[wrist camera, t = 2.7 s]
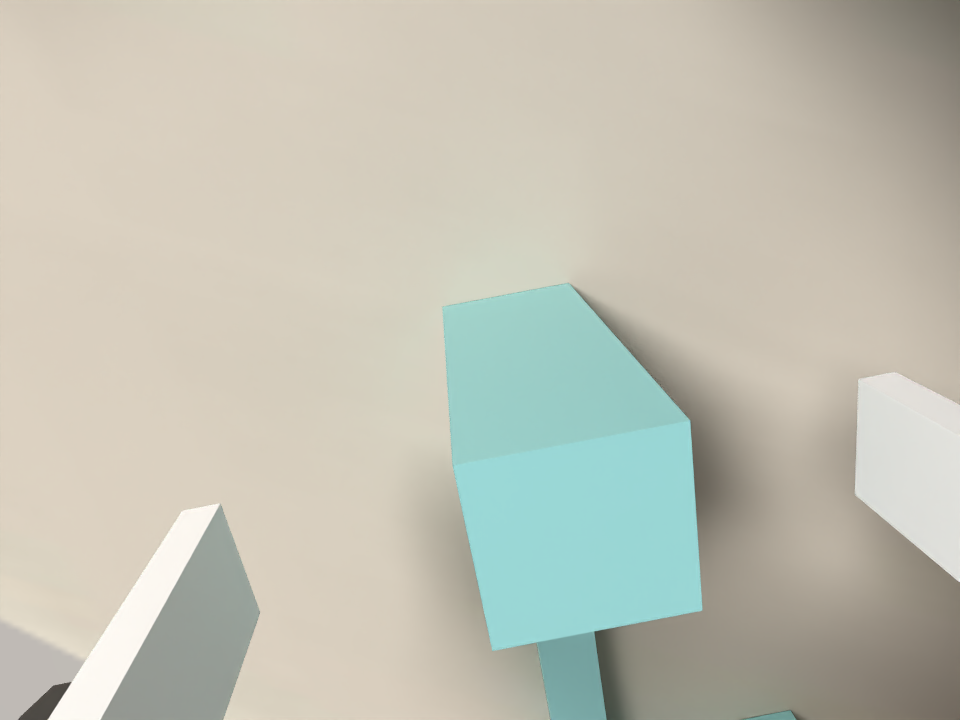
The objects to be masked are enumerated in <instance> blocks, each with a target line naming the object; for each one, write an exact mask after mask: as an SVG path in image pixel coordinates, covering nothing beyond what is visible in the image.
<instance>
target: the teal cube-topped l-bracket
mask: <svg viewBox="0 0 960 720" xmlns="http://www.w3.org/2000/svg"><path fill="white" fill-rule="evenodd" d="M443 323H444V338H445V354H446V369H447V385H448V400H449V416H450V432H451V447H452V463H453V469H454V474H455V479H456V483H457V488H458V493H459V497H460V502H461V507H462V511H463V516H464V521H465V525H466V530H467V535H468V539H469V544H470V549H471V553H472V558H473V563H474V567H475V572H476V576H477V581H478V586H479V590H480V595H481V600H482V604H483V609H484V614H485V618H486V623H487V628H488V632H489V637H490V642H491V646H492V651H495V650H500V649H505V648H510V647H515V646H521V645H526V644H531V643H537V648H538V654H539V659H540V664H541V670H542V675H543V681H544V686H545V692H546V697H547V703H548V708H549V714H550V719H551V720H606V712H605V705H604V698H603V691H602V684H601V677H600V670H599V663H598V656H597V649H596V642H595V634H594V631H599V630H604V629H609V628H614V627H620V626H625V625H630V624H635V623H640V622H646V621H651V620H656V619H661V618H666V617H672V616H677V615H682V614H687V613H692V612H698V611H702V596H701V581H700V565H699V549H698V534H697V518H696V503H695V487H694V472H693V456H692V441H691V425H690V420H689V419H688V418H687V416H686V415H685V414H684V413H683V412H682V411H681V410H680V408H679V407H678V406H677V405H676V404H675V403H674V402H673V401H672V399H671V398H670V397H669V396H668V395H667V394H666V393H665V391H664V390H663V389H662V388H661V387H660V386H659V385H658V384H657V382H656V381H655V380H654V379H653V378H652V377H651V376H650V375H649V373H648V372H647V371H646V370H645V369H644V368H643V367H642V365H641V364H640V363H639V362H638V361H637V360H636V359H635V358H634V356H633V355H632V354H631V353H630V352H629V351H628V350H627V348H626V347H625V346H624V345H623V344H622V343H621V342H620V341H619V339H618V338H617V337H616V336H615V335H614V334H613V333H612V332H611V330H610V329H609V328H608V327H607V326H606V325H605V324H604V322H603V321H602V320H601V319H600V318H599V317H598V316H597V315H596V313H595V312H594V311H593V310H592V309H591V308H590V307H589V305H588V304H587V303H586V302H585V301H584V300H583V299H582V298H581V296H580V295H579V294H578V293H577V292H576V291H575V290H574V289H573V287H572V286H571V285H570V284H569V283H566V284H561V285H555V286H550V287H545V288H540V289H534V290H529V291H524V292H518V293H513V294H508V295H502V296H497V297H492V298H486V299H481V300H476V301H470V302H465V303H460V304H454V305H449V306H444V307H443ZM743 720H796V719H795V717H794V715H793V714H792V712H791V710H789V711H784V712H779V713H774V714H769V715H763V716H758V717H753V718H748V719H743Z"/></svg>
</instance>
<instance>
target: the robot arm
mask: <svg viewBox="0 0 960 720" xmlns="http://www.w3.org/2000/svg"><path fill="white" fill-rule="evenodd" d="M855 495H856V496H857V497H858V498H859V499H861V500H862V501H863V502H864V503H865V504H867V505H868V506H869V507H870V508H871V509H873V510H874V511H875V512H876V513H877V514H879V515H880V516H881V517H882V518H883V519H884V520H886V521H887V522H888V523H889V524H890V525H892V526H893V527H894V528H895V529H896V530H898V531H899V532H900V533H901V534H902V535H904V536H905V537H906V538H907V539H908V540H910V541H911V542H912V543H913V544H914V545H915V546H917V547H918V548H919V549H920V550H921V551H923V552H924V553H925V554H926V555H927V556H929V557H930V558H931V559H932V560H933V561H935V562H936V563H937V564H938V565H939V566H941V567H942V568H943V569H944V570H945V571H946V572H948V573H949V574H950V575H951V576H952V577H954V578H955V579H956V580H957V581H958V582H960V404H958V403H956V402H954V401H952V400H950V399H948V398H946V397H944V396H942V395H940V394H938V393H936V392H934V391H932V390H930V389H928V388H926V387H924V386H922V385H920V384H918V383H916V382H914V381H912V380H910V379H908V378H906V377H904V376H902V375H900V374H898V373H896V372H892V373H887V374H882V375H876V376H871V377H866V378H861V379H858V411H857V442H856V474H855ZM259 614H260V611H259V608H258V605H257V602H256V600H255V597H254V594H253V591H252V589H251V586H250V583H249V581H248V578H247V575H246V572H245V570H244V567H243V564H242V561H241V559H240V556H239V553H238V550H237V548H236V545H235V542H234V539H233V537H232V534H231V531H230V528H229V526H228V523H227V520H226V517H225V515H224V512H223V509H222V506H221V504H214V505H209V506H204V507H199V508H194V509H189V510H184V511H182V512H181V514H180V515H179V517H178V518H177V520H176V522H175V523H174V525H173V526H172V528H171V529H170V531H169V532H168V534H167V535H166V537H165V539H164V540H163V542H162V543H161V545H160V546H159V548H158V549H157V551H156V553H155V554H154V556H153V557H152V559H151V560H150V562H149V563H148V565H147V567H146V568H145V570H144V571H143V573H142V574H141V576H140V577H139V579H138V580H137V582H136V584H135V585H134V587H133V588H132V590H131V591H130V593H129V594H128V596H127V598H126V599H125V601H124V602H123V604H122V605H121V607H120V608H119V610H118V611H117V613H116V615H115V616H114V618H113V619H112V621H111V622H110V624H109V625H108V627H107V629H106V630H105V632H104V633H103V635H102V636H101V638H100V639H99V641H98V643H97V644H96V646H95V647H94V649H93V650H92V652H91V653H90V655H89V656H88V658H87V660H86V661H85V663H84V664H83V666H82V667H81V669H80V670H79V672H78V674H77V675H76V677H75V678H74V680H73V682H70V683H64V684H59V685H55V686H53V687H52V688H50V689H49V690H48V692H46V693H45V694H44V695H43V696H42V697H41V698H40V699H39V700H38V701H37V702H36V703H34V704H33V705H32V706H31V707H30V708H29V709H28V710H27V711H26V712H25V713H24V714H23V715H22V716H21V717H20V718H19V720H223V719H224V716H225V713H226V710H227V707H228V704H229V701H230V698H231V696H232V693H233V690H234V687H235V684H236V681H237V678H238V675H239V672H240V669H241V667H242V664H243V661H244V658H245V655H246V652H247V649H248V646H249V643H250V640H251V638H252V635H253V632H254V629H255V626H256V623H257V620H258V617H259Z"/></svg>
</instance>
